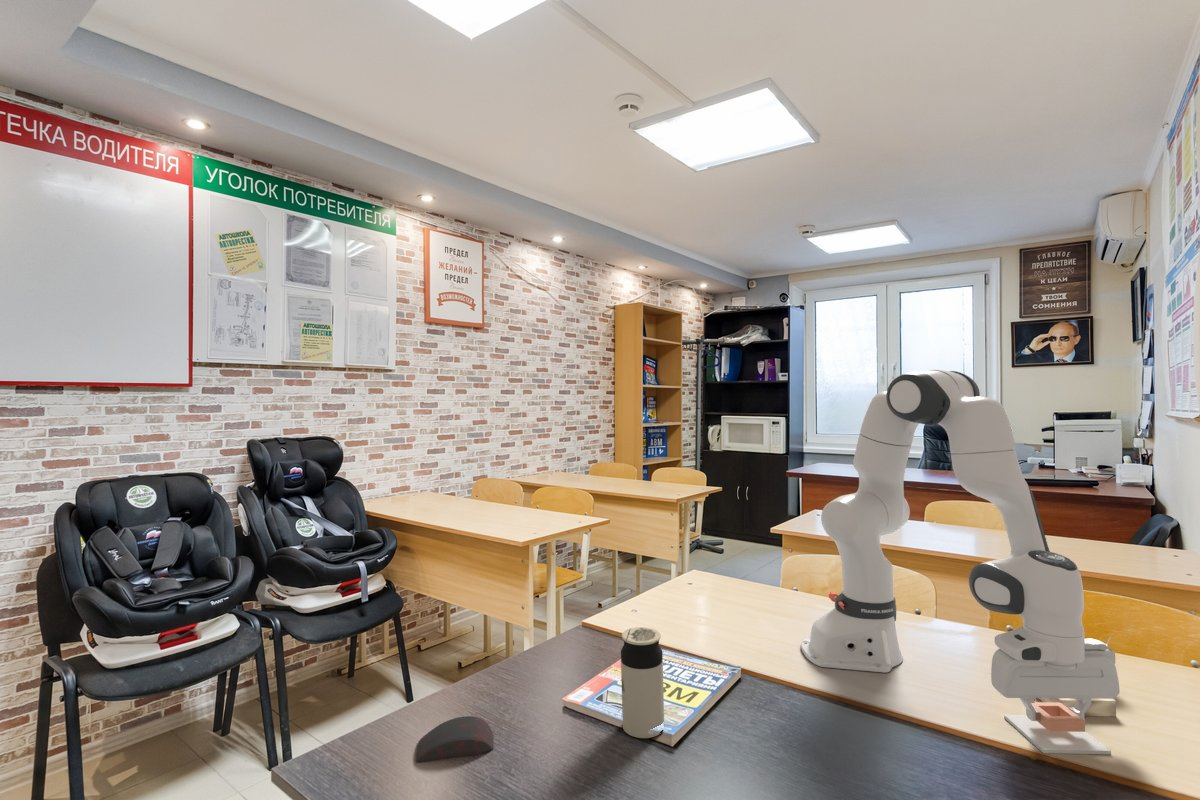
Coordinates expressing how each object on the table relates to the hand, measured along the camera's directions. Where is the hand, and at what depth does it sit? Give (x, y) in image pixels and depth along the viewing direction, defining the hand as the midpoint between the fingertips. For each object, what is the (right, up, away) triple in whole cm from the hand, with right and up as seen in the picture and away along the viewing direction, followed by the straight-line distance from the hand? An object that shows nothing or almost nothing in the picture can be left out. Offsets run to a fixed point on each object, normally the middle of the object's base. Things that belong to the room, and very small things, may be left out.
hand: (1055, 719), depth 106 cm
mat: (0, -3, 0) cm, 3 cm away
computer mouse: (-109, -6, +2) cm, 109 cm away
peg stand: (+11, -2, +11) cm, 16 cm away
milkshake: (+23, -2, +18) cm, 29 cm away
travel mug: (-74, -5, +6) cm, 75 cm away
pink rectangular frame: (0, 0, 0) cm, 0 cm away
